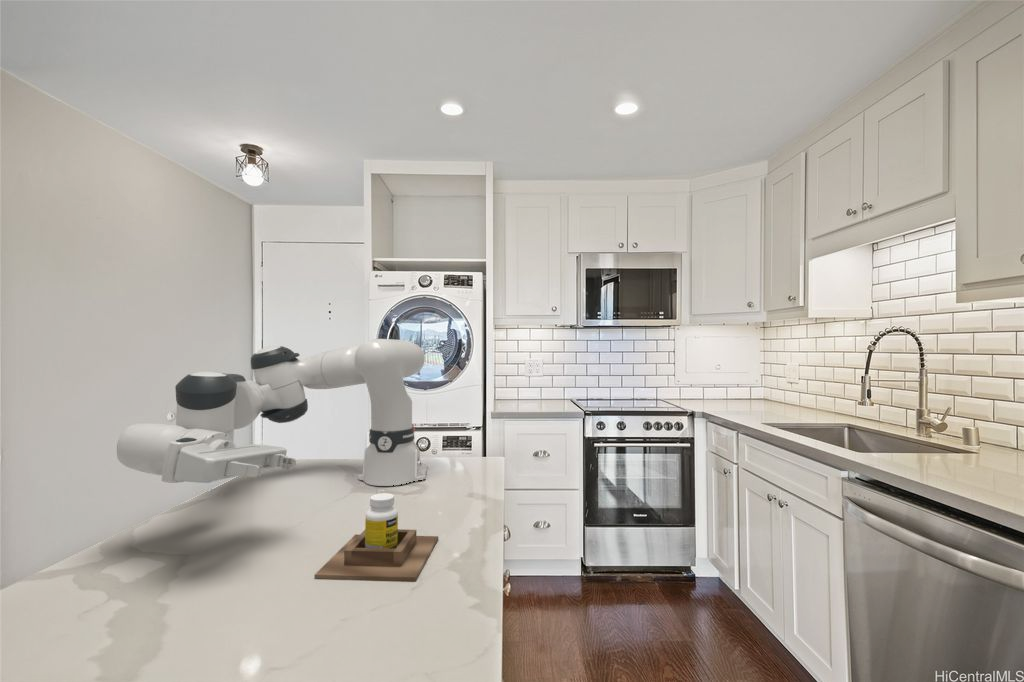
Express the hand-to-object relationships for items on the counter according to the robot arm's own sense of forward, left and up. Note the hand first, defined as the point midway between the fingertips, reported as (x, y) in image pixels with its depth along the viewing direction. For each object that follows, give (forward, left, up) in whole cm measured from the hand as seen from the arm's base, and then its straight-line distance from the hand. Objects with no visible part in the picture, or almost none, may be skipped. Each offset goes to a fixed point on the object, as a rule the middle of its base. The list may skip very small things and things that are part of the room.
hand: (277, 467), depth 80 cm
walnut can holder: (-1, +18, -15) cm, 24 cm away
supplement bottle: (-1, +18, -15) cm, 24 cm away
